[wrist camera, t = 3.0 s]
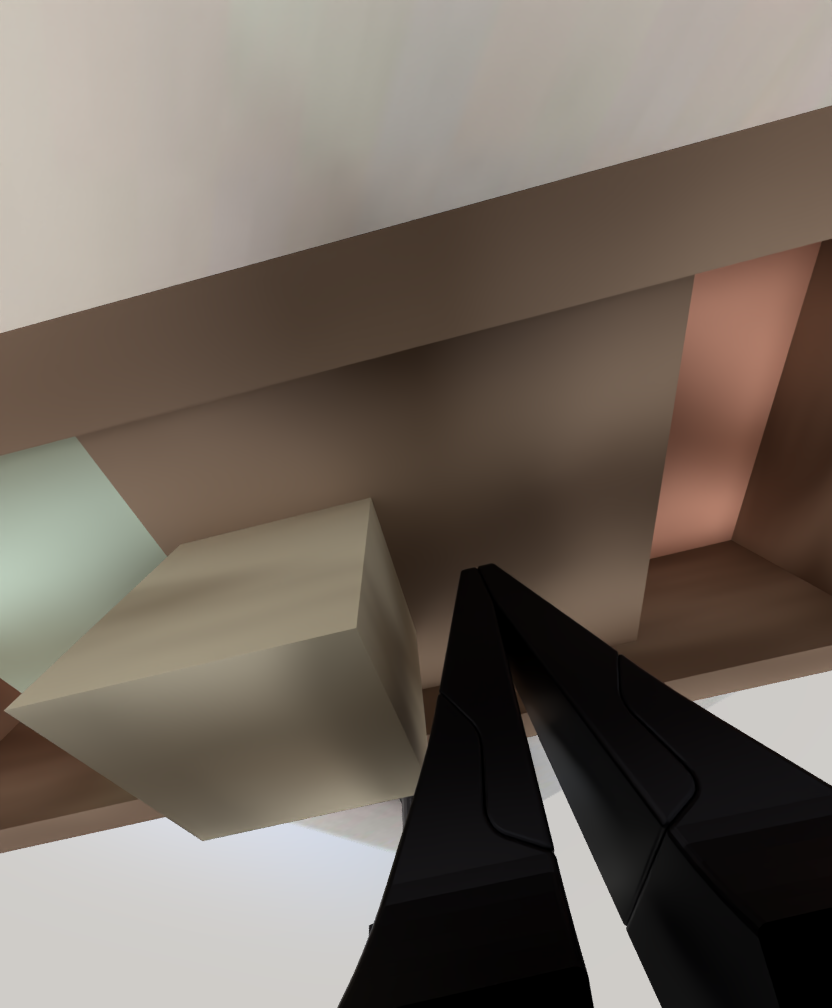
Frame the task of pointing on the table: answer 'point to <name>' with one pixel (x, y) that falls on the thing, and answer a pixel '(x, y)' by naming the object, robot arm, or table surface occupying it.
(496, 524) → the tray
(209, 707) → the maple block
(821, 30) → the table surface
